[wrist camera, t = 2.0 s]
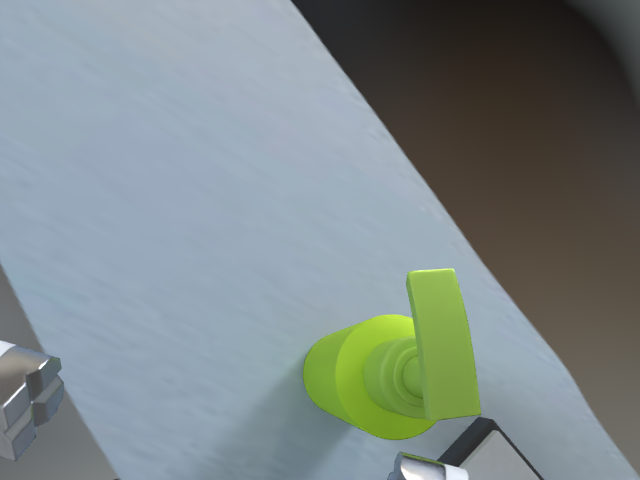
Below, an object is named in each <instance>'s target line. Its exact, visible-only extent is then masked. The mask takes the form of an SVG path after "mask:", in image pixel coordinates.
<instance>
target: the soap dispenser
mask: <svg viewBox="0 0 640 480" xmlns="http://www.w3.org/2000/svg"><path fill="white" fill-rule="evenodd" d="M406 286H407V292H408V296H409V301H410V306H411V311H412V317H413V319H412V318H409V317H406V316H402V315H382V316H377V317H374V318H371V319H369V320H366V321H364V322H361V323H358V324H356V325H353V326H351V327H348V328H345V329H343V330H340V331H338V332H335V333H332V334H330V335H327V336H325V337H323V338H322V339H320V340H319V341H318V342H317V343H315V344H314V346H313V347H312V348H311V349H310V351H309V353H308V354H307V357H306V359H305V362H304V367H303V380H304V385H305V388H306V391H307V393H308V395H309V397H310V398H311V400H312V401H313V402H314V403H315V404H316V405H317V406H318V407H319V408H321V409H322V410H324V411H326V412H328V413H330V414H332V415H334V416H336V417H338V418H340V419H342V420H344V421H346V422H348V423H350V424H352V425H354V426H356V427H358V428H360V429H362V430H364V431H366V432H368V433H370V434H372V435H374V436H376V437H380V438H383V439H389V440H403V439H408V438H412V437H415V436H417V435H419V434H421V433H423V432H425V431H426V430H428V429H429V428H430V427H432V426H433V425H434V424H435V423H436V422H437V421H438V420H444V419H452V418H460V417H468V416H476V415H481V408H480V400H479V392H478V384H477V376H476V369H475V361H474V355H473V348H472V342H471V336H470V330H469V325H468V320H467V316H466V311H465V307H464V303H463V299H462V295H461V292H460V288H459V284H458V281H457V278H456V274H455V272H454V270H453V269H436V270H422V271H410V272H408V274H407V281H406Z"/></svg>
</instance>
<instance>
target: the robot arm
mask: <svg viewBox="0 0 640 480" xmlns="http://www.w3.org/2000/svg"><path fill="white" fill-rule="evenodd" d="M60 370H61V363H60V358H57V357H54V356H50V355H47V354H44V353H40V352H37V351H34V350H30V349H27V348H24V347H21V346H18V345H14V344H11V343H7V342H4V341H0V457H2V458H6V459H9V460H13V461H17V460H18V458H19V457H20V456H21V455H22V453H23V452H24V451H25V450H26V449H27V447H28V446H29V445H30V443H31V442H32V441H33V440H34V439H35V437H36V427H37V426H39V425H41V424H44V423H46V422H48V421H49V420H50V419H51V417H52V416H53V415H54V414H55V412H56V411H57V409H58V407H59V405H60V403H61V401H62V398H63V393H64V383H63V381H62V380H61V378H60V377H59V376H58V375H57V373H58V372H59V371H60ZM387 480H469V475H468V473H467V471H466V470H465V469H462V468H458V467H454V466H451V465H447V464H443V463H442V462H438V461H434V460H430V459H427V458H423V457H419V456H415V455H411V454H407V453H404V452H399V453H398V454H397V457H396V459H395V463H394V471H393V472H391V473H390V474H389V476H388V479H387Z"/></svg>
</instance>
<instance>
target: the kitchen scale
mask: <svg viewBox="0 0 640 480" xmlns="http://www.w3.org/2000/svg"><path fill="white" fill-rule="evenodd" d="M437 461H438V462H442V463H443V464H447V465H451V466H454V467H458V468H462V469H465V470H466V471H467V473H468V475H469V480H544V479H543V478H542V477H541V476H540V474H539V473H538V472H537V471H536V470H535V468H534V467H533V466H532V465H531V464H530V463H529V461H528V460H527V459H526V458H525V457H524V456H523V454H522V453H521V452H520V451H519V450H518V449H517V447H516V446H515V445H514V444H513V443H512V442H511V440H510V439H509V438H508V437H507V436H506V434H505V433H504V432H503V431H502V430H501V429H500V427H499V426H498V425H497V424H496V423H495V422H494V420H492V419H487V418H482V417H478V418H477V419H476V420H475V421H474V422H473V423H472V425H471V426H470V427H469V428H468V429H467V430H466V431H465V432H464V433H463V434H462V435H461V436H460V437H459V438H458V439H457V440H456V441H455V442H454V443H453V444H452V446H451V447H450V448H449V449H448V450H447V451H446V452H445V453H444V454H443V455H442V456H441V457H440V458H439V459H438V460H437Z"/></svg>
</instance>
